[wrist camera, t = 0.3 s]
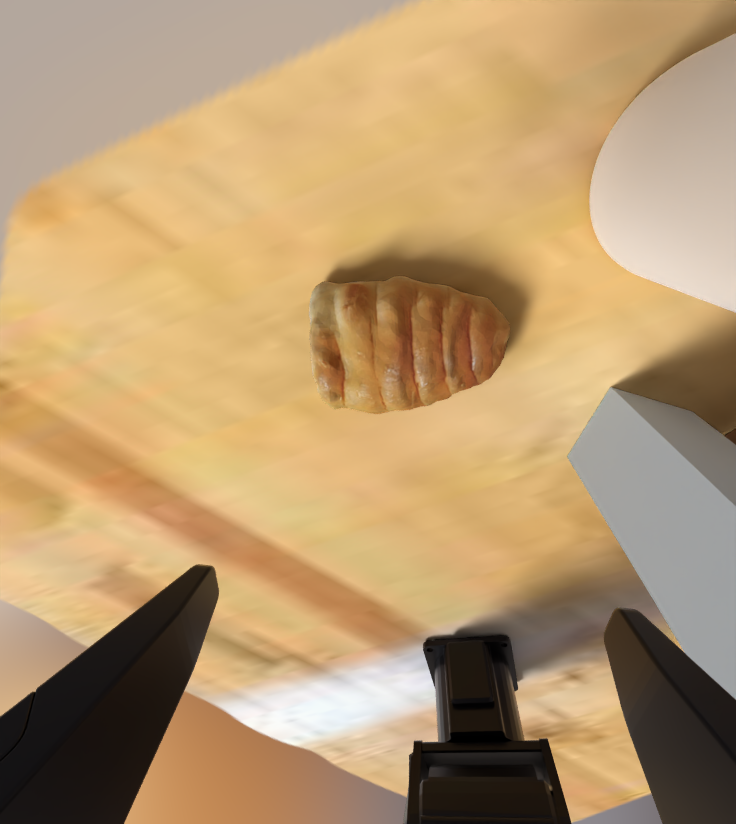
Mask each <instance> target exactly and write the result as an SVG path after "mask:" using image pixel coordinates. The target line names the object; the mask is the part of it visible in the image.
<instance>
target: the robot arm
mask: <svg viewBox="0 0 736 824" xmlns="http://www.w3.org/2000/svg"><path fill="white" fill-rule="evenodd" d="M218 596H219V588H218V583H217V578H216V572H215V568H214V567H213V566H210V565H200V564H198V565H195V566H193V567H192V568H190V569H189V570H188V571H186V572H185V573H184V574H183V575H181V576H180V577H179V578H177V579H176V580H175V581H174V582H172V583H171V584H170V585H169V586H167V587H166V588H165V589H163V590H162V591H161V592H160V593H158V594H157V595H156V596H154V597H153V598H152V599H151V600H149V601H148V602H147V603H145V604H144V605H143V606H142V607H140V608H139V609H138V610H137V611H135V612H134V613H133V614H131V615H130V616H129V617H128V618H126V619H125V620H124V621H122V622H121V623H120V624H119V625H117V626H116V627H115V628H113V629H112V630H111V631H110V632H108V633H107V634H106V635H104V636H103V637H102V638H101V639H99V640H98V641H97V642H96V643H94V644H93V645H92V646H90V647H89V648H88V649H87V650H85V651H84V652H83V653H81V654H80V655H79V656H78V657H76V658H75V659H74V660H73V661H71V662H70V663H69V664H67V665H66V666H65V667H64V668H62V669H61V670H60V671H58V672H57V673H56V674H55V675H53V676H52V677H51V678H49V679H48V680H47V681H46V682H45V683H43V684H42V685H40V686H39V687H38V688H37V689H36V692H32V693H30V694H29V695H27V696H26V697H25V698H24V699H23V700H21V701H20V702H18V703H17V704H16V705H15V706H13V707H12V708H11V709H9V710H8V711H7V712H5V713H4V714H3V715H2V716H0V824H124V822H125V820H126V818H127V816H128V813H129V811H130V809H131V807H132V805H133V802H134V800H135V798H136V796H137V794H138V791H139V789H140V787H141V785H142V783H143V780H144V778H145V776H146V774H147V772H148V769H149V767H150V765H151V763H152V761H153V758H154V756H155V754H156V752H157V750H158V747H159V745H160V743H161V741H162V739H163V736H164V734H165V732H166V730H167V728H168V725H169V723H170V721H171V718H172V717H173V714H174V712H175V710H176V707H177V705H178V703H179V701H180V699H181V697H182V695H183V692H184V690H185V688H186V686H187V684H188V681H189V679H190V677H191V674H192V672H193V670H194V667H195V664H196V662H197V659H198V656H199V653H200V650H201V647H202V644H203V642H204V639H205V636H206V633H207V630H208V627H209V624H210V621H211V618H212V615H213V612H214V609H215V606H216V603H217V600H218ZM604 643H605V647H606V651H607V654H608V658H609V662H610V666H611V670H612V673H613V677H614V681H615V685H616V689H617V692H618V696H619V700H620V704H621V707H622V711H623V714H624V718H625V721H626V724H627V727H628V730H629V733H630V736H631V738H632V741H633V744H634V747H635V749H636V752H637V755H638V758H639V760H640V763H641V766H642V768H643V771H644V774H645V777H646V779H647V782H648V785H649V788H650V790H651V793H652V796H653V798H654V801H655V804H656V807H657V809H658V812H659V815H660V818H661V820H662V823H663V824H736V699H735V698H734V697H732V696H731V695H730V694H729V693H728V692H727V691H726V690H725V689H724V688H723V687H721V686H720V685H719V684H718V683H717V682H716V681H715V680H714V679H713V678H712V677H710V676H709V675H708V674H707V673H706V672H705V671H704V670H703V669H702V668H701V667H700V666H698V665H697V664H696V663H695V662H694V661H693V660H692V659H691V658H690V657H689V656H687V655H686V654H685V653H684V652H683V651H682V650H681V649H680V648H679V647H678V646H677V645H675V644H674V643H673V642H672V641H671V640H670V639H669V638H668V637H667V636H666V635H664V634H663V633H662V632H661V631H660V630H659V629H658V628H657V627H656V626H655V625H653V624H652V623H651V622H650V621H649V620H648V619H647V618H646V617H645V616H644V615H643V614H641V613H640V612H639V611H637V610H634V609H627V608H616V609H615V610H614V611H613V613H612V616H611V618H610V620H609V622H608V624H607V627H606V629H605V632H604ZM423 651H424V654H425V657H426V661H427V664H428V667H429V670H430V673H431V677H432V680H433V683H434V686H435V689H436V708H437V728H438V742H422V741H414V749H413V753H412V754H410V755H409V788H408V795H407V801H406V807H405V813H404V820H403V824H571V820H570V816H569V813H568V809H567V805H566V802H565V798H564V795H563V791H562V788H561V784H560V781H559V777H558V774H557V770H556V767H555V763H554V760H553V756H552V753H551V749H550V746H549V742H548V739H547V738H546V739H539V740H531V741H525V740H524V735H523V731H522V726H521V721H520V716H519V711H518V707H517V702H516V697H515V692H514V691H517V690H518V685H517V678H516V672H515V666H514V660H513V653H512V647H511V642H510V639H509V637H507V636H490V637H476V638H462V639H449V640H435V641H426V642H424V644H423Z"/></svg>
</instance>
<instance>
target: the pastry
mask: <svg viewBox="0 0 736 824" xmlns="http://www.w3.org/2000/svg"><path fill="white" fill-rule="evenodd" d="M309 307H310V308H309V316H310V320H311V322H310V326H311V328H310V338H309V339H310V345H311V361H312V373H313V378H314V380H315V382H316V384H317V386H318V388H317V390H318V393H319V395H320V397H321V399H322V400H323V401H324V402H325V404H327V405H328V406H330V407H331V408H333V409H339V408H348V409H353V410H357V411H363V412H367V413H374V414H380V413H385V412H390V411H394V410H411V409H413V408H417V407H420V406H428V405H431V404H433V403H434V402H436V401H440V400H444V399H448V398H449V397H450V396H451V395H452V394H454V393H457V392H459V391H462V390H465V389H468V388H471V387H473V386H476V385H479V384H481V383H483V382H484V381H486V380H488V379H489V378H490V377H491V376H492V375H493V374H494V372H495V371H496V369H497V368H498V367H499V366H500V364H501V361H502V359H503V358H504V354H505V350H506V345H507V340H508V338H509V335H510V324H509V322H508V321H507V319H506V318H505V316H504V315H503V314H502V313H501V312H500V311H499V310H498V309H497V308H496V307H495V305H494V304H493V303H492V302H491V301H490V300H489V299H488V298H485V297H481V296H476V295H471V294H469V293H462V292H460V291H458V290H456V289H454V288H452V287H450V286H448V285H441V284H430V283H425V282H421V281H416V280H413V279H411V278H409V277H405V276H395V277H392V278H390V279H388V280H386V281H368V282H365V281H358V282H349V283H340V284H337V283H332V282H322V283H320V284H318V285H317V286H316V287H315V289H314V290H313V292H312V295H311V299H310V305H309Z"/></svg>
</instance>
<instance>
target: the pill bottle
mask: <svg viewBox="0 0 736 824" xmlns="http://www.w3.org/2000/svg"><path fill="white" fill-rule="evenodd" d="M589 203H590V215H591V221H592V225H593V228H594V231H595V234H596V236H597V238H598V240H599V242H600V244H601V246H602V247H603V249H604V250H605V251H606V253H607V254H608V255H609V256H610V257H611V258H612V259H613V260H614V261H615V262H617V263H618V264H619V265H621V266H622V267H623V268H625V269H626V270H628V271H630V272H631V273H633V274H635V275H638V276H640V277H643V278H645V279H648V280H651V281H653V282H656V283H659V284H661V285H664V286H666V287H669V288H672V289H674V290H677V291H680V292H682V293H685V294H688V295H690V296H693V297H696V298H698V299H701V300H703V301H706V302H709V303H711V304H714V305H717V306H719V307H722V308H725V309H727V310H730V311H733V312H735V313H736V33H735V34H733V35H731V36H729V37H727V38H725V39H723V40H721V41H719V42H717V43H715V44H712V45H710V46H708V47H706V48H704V49H702V50H700V51H698V52H696V53H694V54H692V55H691V56H689V57H687V58H685V59H684V60H682V61H680V62H679V63H677V64H676V65H674V66H673V67H671V68H670V69H669V70H667V71H666V72H665V73H663V74H662V75H660V76H659V77H658V78H657V79H655V80H654V81H653V82H652V83H651V84H649V85H648V86H647V87H646V88H645V89H644V90H643V91H642V92H641V93H640V94H639V95H638V96H637V97H636V98H635V99H634V100H633V101H632V102H631V103H630V105H629V106H628V107H627V108H626V109H625V111H624V112H623V113H622V115H621V116H620V117H619V119H618V120H617V122H616V123H615V125H614V126H613V128H612V129H611V131H610V133H609V134H608V136H607V138H606V140H605V142H604V144H603V146H602V148H601V151H600V153H599V156H598V158H597V161H596V164H595V168H594V171H593V175H592V180H591V186H590V199H589Z"/></svg>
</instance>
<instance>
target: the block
mask: <svg viewBox="0 0 736 824" xmlns="http://www.w3.org/2000/svg"><path fill="white" fill-rule="evenodd" d="M567 457H568V459H569V461H570V462H571V464H572V466H573V467H574V469H575V471H576V472H577V474H578V476H579V477H580V479H581V481H582V482H583V484H584V486H585V487H586V489H587V491H588V492H589V494H590V496H591V497H592V499H593V501H594V502H595V504H596V506H597V507H598V509H599V511H600V512H601V514H602V516H603V517H604V519H605V521H606V522H607V524H608V526H609V527H610V529H611V531H612V532H613V534H614V536H615V537H616V539H617V541H618V542H619V544H620V546H621V547H622V549H623V551H624V552H625V554H626V556H627V557H628V559H629V561H630V562H631V564H632V566H633V567H634V569H635V571H636V572H637V574H638V576H639V577H640V579H641V581H642V582H643V584H644V585H645V587H646V589H647V590H648V592H649V594H650V595H651V597H652V599H653V600H654V602H655V604H656V605H657V607H658V609H659V610H660V612H661V614H662V615H663V617H664V619H665V620H666V622H667V624H668V625H669V627H670V629H671V630H672V632H673V634H674V635H675V637H676V639H677V640H678V642H679V644H680V645H681V647H682V649H683V650H684V652H685V654H686V655H687V656H689V657H690V658H691V659H692V660H693V661H694V662H695V663H696V664H697V665H698V666H700V667H701V668H702V669H703V670H704V671H705V672H706V673H707V674H708V675H709V676H710V677H712V678H713V679H714V680H715V681H716V682H717V683H718V684H719V685H720V686H721V687H723V688H724V689H725V690H726V691H727V692H728V693H729V694H730V695H731V696H732V697H734V698H735V699H736V445H735V444H734V443H733V442H731V441H730V440H729V439H727V438H726V437H725V436H723V435H722V434H721V433H720V432H718V431H717V430H716V429H714V428H713V427H712V426H710V425H709V424H708V423H707V422H705V421H704V420H703V419H701V418H700V417H699V416H697V415H696V414H695V413H693V412H692V411H689V410H686V409H682V408H679V407H676V406H672V405H669V404H666V403H662V402H659V401H656V400H652V399H649V398H646V397H642V396H639V395H636V394H632V393H629V392H626V391H622V390H619V389H616V388H612V387H610V389H609V390H608V392H607V393H606V395H605V397H604V398H603V400H602V401H601V403H600V405H599V406H598V408H597V409H596V411H595V413H594V414H593V416H592V417H591V419H590V421H589V422H588V424H587V425H586V427H585V429H584V430H583V432H582V433H581V435H580V437H579V438H578V440H577V441H576V443H575V445H574V446H573V448H572V449H571V451H570V453H569V454H568V456H567Z"/></svg>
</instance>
